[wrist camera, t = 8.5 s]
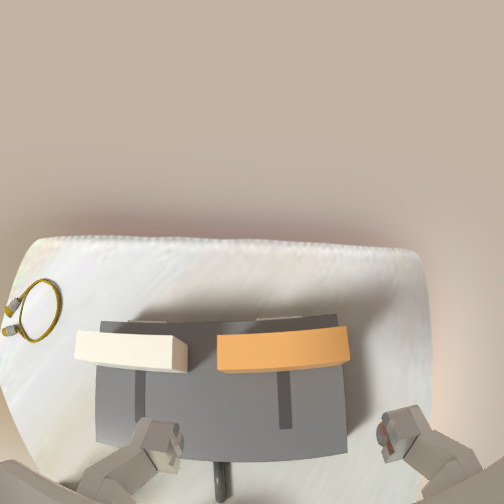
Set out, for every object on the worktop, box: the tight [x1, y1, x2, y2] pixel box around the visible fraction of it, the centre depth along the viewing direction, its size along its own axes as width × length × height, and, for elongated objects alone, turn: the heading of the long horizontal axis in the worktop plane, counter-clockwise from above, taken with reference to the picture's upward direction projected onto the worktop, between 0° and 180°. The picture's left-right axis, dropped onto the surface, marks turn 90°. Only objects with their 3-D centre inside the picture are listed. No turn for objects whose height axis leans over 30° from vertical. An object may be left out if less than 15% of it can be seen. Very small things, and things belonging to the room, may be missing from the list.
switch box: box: [95, 314, 348, 503], centre depth 25 cm, size 23×27×5 cm
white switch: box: [74, 330, 188, 373], centre depth 25 cm, size 3×11×5 cm, turn 92°
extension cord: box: [2, 279, 60, 343], centre depth 35 cm, size 12×16×2 cm
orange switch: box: [217, 326, 350, 374], centre depth 24 cm, size 3×11×5 cm, turn 92°
